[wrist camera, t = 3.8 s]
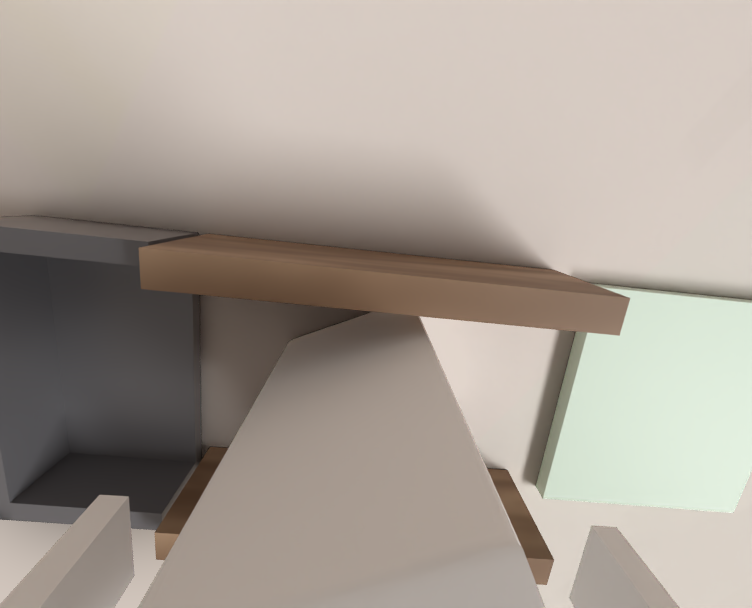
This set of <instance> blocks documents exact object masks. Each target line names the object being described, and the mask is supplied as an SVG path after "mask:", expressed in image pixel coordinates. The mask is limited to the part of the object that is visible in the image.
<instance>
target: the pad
mask: <svg viewBox="0 0 752 608" xmlns="http://www.w3.org/2000/svg"><path fill="white" fill-rule="evenodd" d="M591 284H592V283H591ZM593 285H596V286H599V287H602V288H604V289H607V290H610V291H612V292H615V293H618V294H621V295H623V296H626V297H629V298H630V301H629V305H628V308H627V312H626V315H625V318H624V322H623V325H622V329H621V332H620V336H617V335H607V334H597V333H587V332H577V331H576V333H575V337H574V341H573V345H572V348H571V352H570V356H569V360H568V364H567V368H566V372H565V375H564V379H563V383H562V387H561V391H560V395H559V399H558V402H557V406H556V410H555V414H554V418H553V422H552V426H551V429H550V433H549V437H548V441H547V445H546V449H545V453H544V456H543V460H542V464H541V468H540V472H539V476H538V480H537V483H536V488H537V489H538V491H539V493H540V494H541V496H542V498H543V499H557V500H570V501H583V502H596V503H609V504H622V505H636V506H649V507H662V508H675V509H688V510H701V511H715V512H728V513H734V511H735V508H736V506H737V504H738V501H739V499H740V497H741V494H742V492H743V490H744V487H745V485H746V483H747V481H748V478H749V476H750V474H751V471H752V300H746V299H736V298H727V297H717V296H708V295H698V294H688V293H679V292H669V291H660V290H650V289H640V288H631V287H621V286H611V285H602V284H593Z"/></svg>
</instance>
